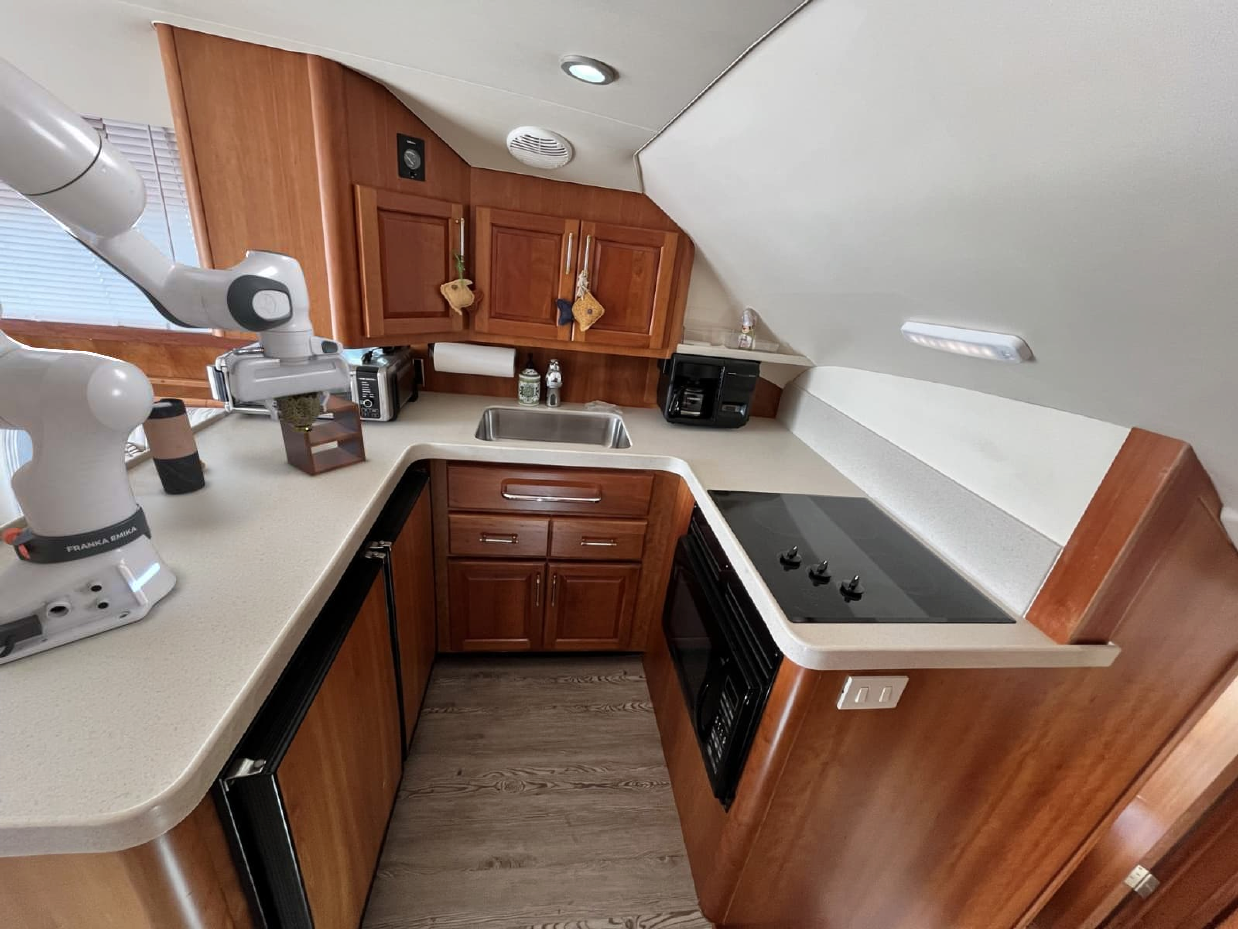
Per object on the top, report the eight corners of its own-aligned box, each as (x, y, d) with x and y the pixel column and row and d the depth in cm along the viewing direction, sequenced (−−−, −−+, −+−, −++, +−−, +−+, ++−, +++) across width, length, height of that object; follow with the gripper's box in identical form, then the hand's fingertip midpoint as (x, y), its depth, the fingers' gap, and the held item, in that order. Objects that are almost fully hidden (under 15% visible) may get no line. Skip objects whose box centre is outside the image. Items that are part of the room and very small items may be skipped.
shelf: (311, 476, 121) (300, 414, 115) (287, 463, 127) (276, 403, 121) (366, 460, 132) (358, 403, 126) (341, 449, 138) (333, 394, 132)
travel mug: (195, 494, 108) (170, 408, 101) (154, 495, 107) (126, 407, 99) (214, 480, 115) (191, 398, 108) (175, 480, 114) (150, 397, 106)
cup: (304, 439, 94) (297, 399, 91) (271, 434, 95) (263, 393, 92) (333, 428, 101) (327, 390, 98) (301, 423, 102) (295, 386, 99)
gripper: (230, 352, 82) (246, 430, 87) (350, 343, 98) (358, 409, 103) (214, 346, 85) (231, 422, 90) (333, 338, 101) (342, 403, 106)
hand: (300, 415), depth 97 cm, fingers closed on cup, 6 cm apart
